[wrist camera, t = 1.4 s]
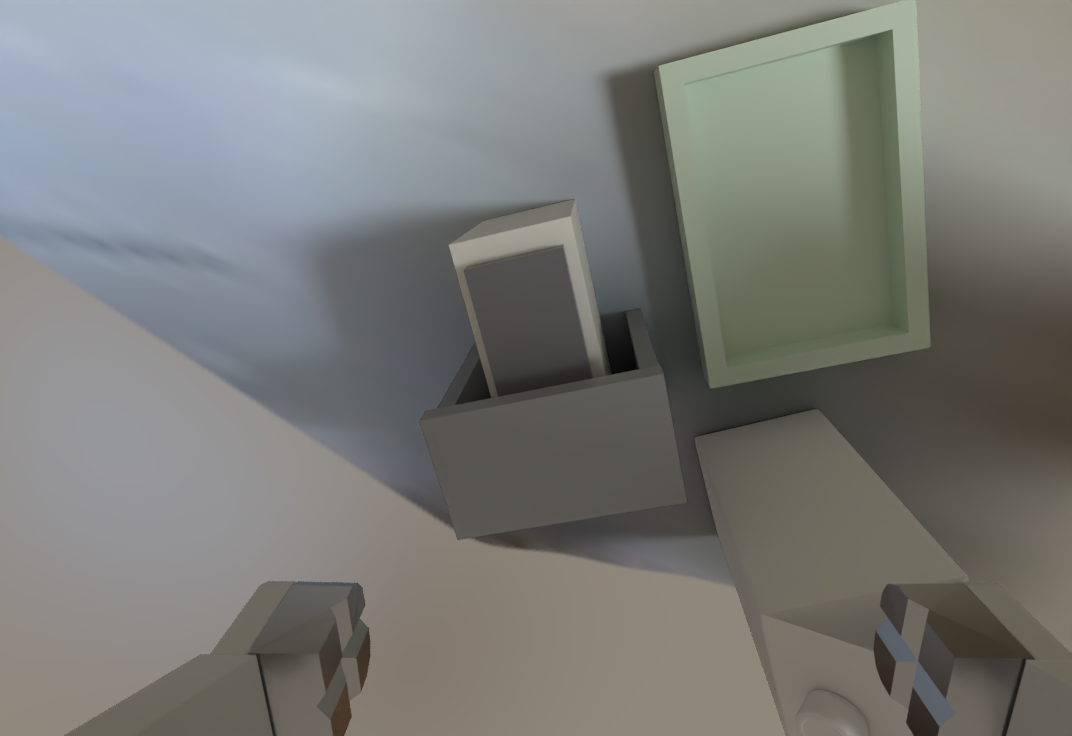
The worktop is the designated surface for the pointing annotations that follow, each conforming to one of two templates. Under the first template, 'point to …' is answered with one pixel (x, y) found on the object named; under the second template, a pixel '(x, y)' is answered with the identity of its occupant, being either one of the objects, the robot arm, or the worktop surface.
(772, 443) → the milk carton
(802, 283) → the tray
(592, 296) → the cream box grey panel
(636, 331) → the open-top grey box
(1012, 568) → the worktop surface
